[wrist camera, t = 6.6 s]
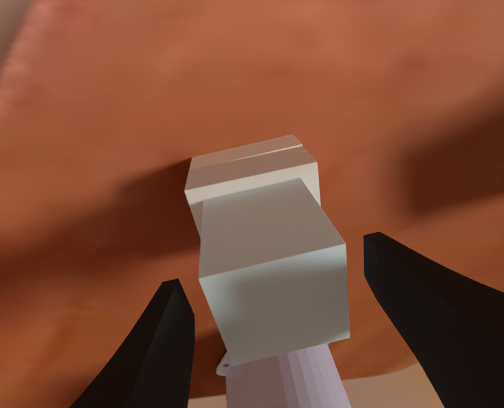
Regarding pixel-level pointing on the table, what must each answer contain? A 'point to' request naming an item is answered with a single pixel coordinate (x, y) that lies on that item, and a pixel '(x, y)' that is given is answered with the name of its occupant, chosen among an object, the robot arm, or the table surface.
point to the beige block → (250, 177)
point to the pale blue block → (273, 271)
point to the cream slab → (245, 151)
